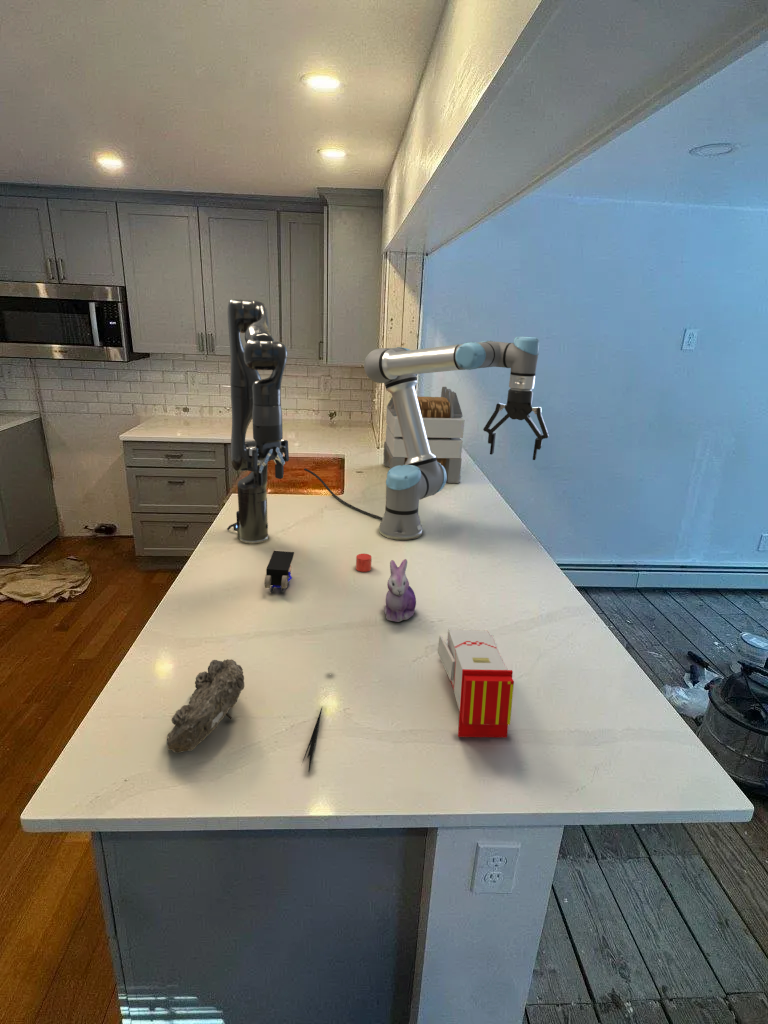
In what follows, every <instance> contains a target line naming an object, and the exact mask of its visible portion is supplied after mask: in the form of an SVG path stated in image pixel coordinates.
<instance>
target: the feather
mask: <svg viewBox="0 0 768 1024" xmlns="http://www.w3.org/2000/svg"><path fill="white" fill-rule="evenodd" d="M329 675H330V676H331V675H332V674H331V673H330V674H329ZM322 710H323V707H321V708H320V710H319V713H318V716H317V719H316V723H315V725H314V728H313V731H312V733H311V737H310V739H309V742H308V745H307V748H306V751H305V754H304V757H303V760H302V763H301V767H302V765H303V763H304V761H305V758H308V759H309V760H308V762H307V763H308V764H307V766H308V771H310V770H311V766H312V765H311V764H312V760H313V757H315V756H314V755H315V751H316V749H315V746H317V739H318V733H319V729H320V722H321V717H322V712H323V711H322ZM313 754H314V755H313ZM306 755H307V757H306Z"/></svg>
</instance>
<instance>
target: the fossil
mask: <svg viewBox="0 0 768 1024" xmlns="http://www.w3.org/2000/svg"><path fill="white" fill-rule="evenodd" d="M243 670H244V669H243V667H242V665H240V664H237V662H236V661H235V660H234V659H232V658H231V659H227V658H226V659H224V660H223V661H222V660H217V659H212V660H211V661H210V663H209V665H208V666H207V671H201V672H199V673H198V674H197V675H196V676H195V680H194V684H195V685H194V687H195V689H194V690H193V693H192V694H191V697H190V698H189V700H188V704H184V705H182V706H181V707H180V709H177V710H176V711H175V713H174V715H173V716H172V718H171V723H172V724H173V727H172V730H171V731H170V732H168V734H167V738H166V741H167V742H166V745H167V749H168V750H169V751H173V752H174V753H176V754H178V753H182V752H188V751H189V752H192V751H193V750H195V748H196V747H197V746H199V744H200V743H201V742H203V741H204V740H205V739H206V738H207V737H208V736H209V735H210V734H211V733H212V732H214V730H215V729H217V727H218V726H219V724H220V722H221V721H222V720H223V719H224V718H225V716H226V717H227V719H229V720H233V717H232V715H230V714H229V710H230V709H231V708H234V706H235V704H236V703H237V702H238V699H239V697H240V695H241V693H242V691H243V690H245V689H244V688H245V675H244V671H243Z"/></svg>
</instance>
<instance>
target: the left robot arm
mask: <svg viewBox="0 0 768 1024" xmlns="http://www.w3.org/2000/svg"><path fill="white" fill-rule="evenodd" d="M227 327H228V340H229V351H230V404H231V434H230V436H231V438H230V461H231V465H232V468H233V469H234V470H235V471H236V472H247V471H248V472H250V473H248V475H246V476H245V477H243V478H241V479H240V480H238V481H237V485H236V487H237V504H238V505H237V506H238V510H237V511H236V512H235V515H236V522H234V523H232V524H229V526H228V527H227V528H226V530H227V531H230V529H231V528H232V529H233V532H236V534H237V535H236V536H237V539H238V540H239V541H241V542H242V543H244V544H260V543H264V542H266V541H267V540H269V521H268V519H269V518H268V491H267V490H268V489H267V487H268V486H267V485H268V468H269V465H268V464H269V462H270V461H273V462H274V477H275V479H278V480H282V479H284V476H285V475H284V473H285V472H284V469H285V468H284V466H285V464H286V462H289V461H290V455H289V454H290V453H289V441H288V440H287V439H283V437H284V433H283V431H284V430H283V409H282V389H281V388H282V382H283V378H284V377H283V376H284V372H285V368H286V365H287V361H288V349H287V347H286V345H285V344H284V343H283V342H282V341H279V340H274V337H273V335H272V333H271V328H270V327H271V326H270V319H269V312H268V309H267V306H266V304H265V303H264V302H262V301H260V300H255V299H253V300H252V299H238V298H232V299H230V300H229V302H228V304H227ZM241 334H244V341H245V345H243V342H242V339H241ZM260 371H272V372H271V374H270V375H269V376H268V377H265V378H262V376H261V374H260V373H259V372H260ZM251 423H252V440H248V441H246V436H247V432H248V428H249V426H250V424H251Z"/></svg>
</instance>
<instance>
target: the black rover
mask: <svg viewBox="0 0 768 1024" xmlns="http://www.w3.org/2000/svg"><path fill="white" fill-rule="evenodd" d="M294 557H295V551H284V550H273V551H272V554H271V556H270V559H269V561H268V564H267V566H266V569H265V571H266V574H265V577H264V588H265V589H270V590H269V592H270V593H274V590H275V588H277V589H280V593H281V594H283V593H284V591H285V589H287V587H288V586H289V582H290V581H291V580H292V579H293V577H292V575H291V574H292V573H291V572H292V565H291V564H292V563H293V562H292V561H293V558H294Z"/></svg>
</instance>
